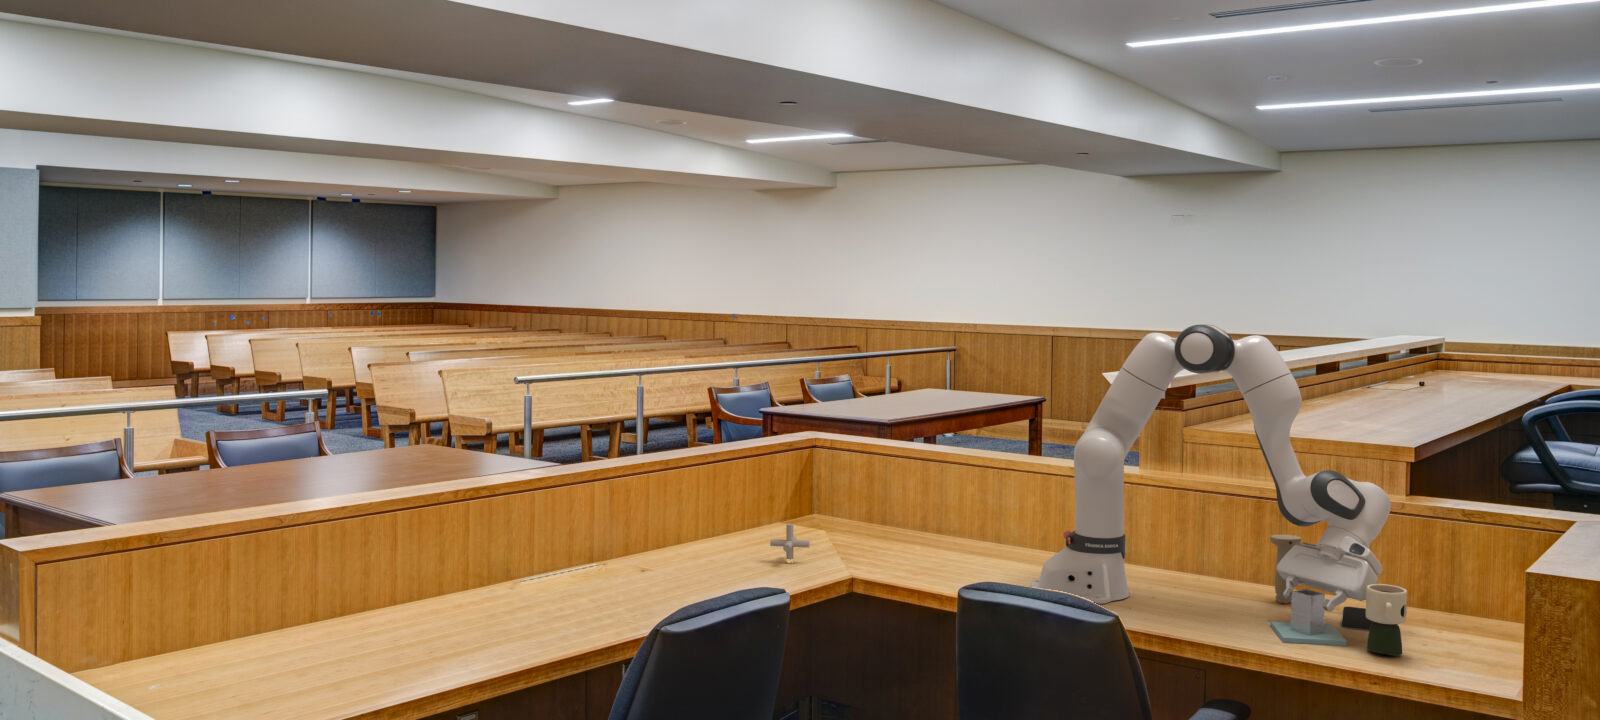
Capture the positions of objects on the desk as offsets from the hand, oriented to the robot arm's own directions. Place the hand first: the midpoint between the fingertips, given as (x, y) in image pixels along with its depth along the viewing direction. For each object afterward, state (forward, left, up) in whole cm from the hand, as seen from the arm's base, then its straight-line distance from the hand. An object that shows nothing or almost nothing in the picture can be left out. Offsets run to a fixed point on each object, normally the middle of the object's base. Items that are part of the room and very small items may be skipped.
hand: (1306, 603), depth 236 cm
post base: (+1, 0, -7) cm, 7 cm away
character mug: (+13, -9, -7) cm, 17 cm away
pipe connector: (-115, +40, -7) cm, 123 cm away
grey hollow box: (0, 0, -6) cm, 6 cm away
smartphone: (+15, +14, -8) cm, 21 cm away
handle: (+2, +25, -7) cm, 26 cm away
